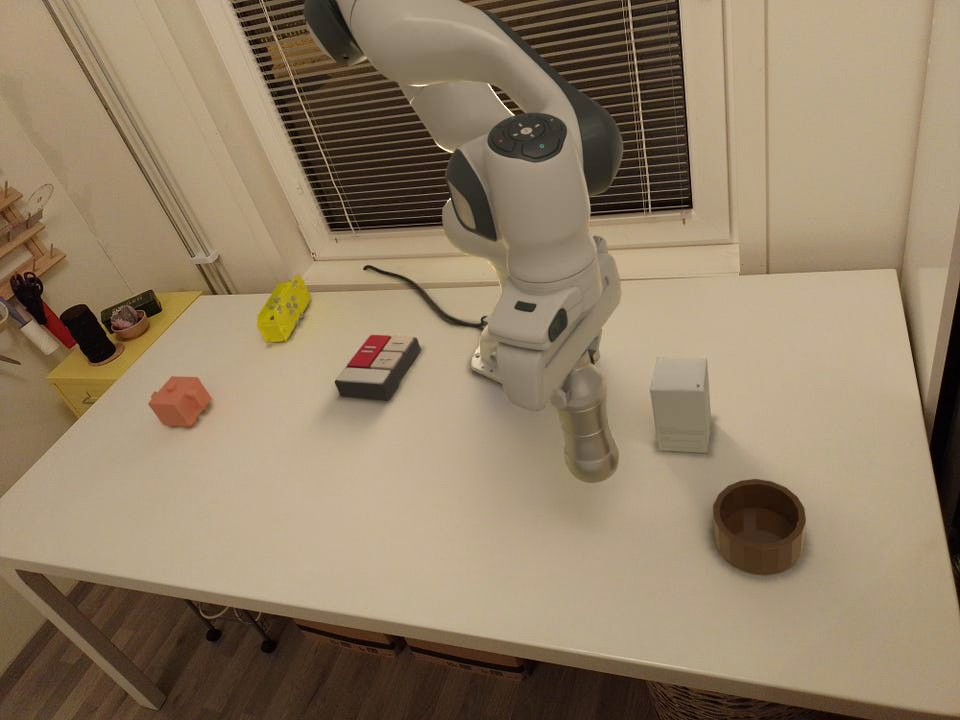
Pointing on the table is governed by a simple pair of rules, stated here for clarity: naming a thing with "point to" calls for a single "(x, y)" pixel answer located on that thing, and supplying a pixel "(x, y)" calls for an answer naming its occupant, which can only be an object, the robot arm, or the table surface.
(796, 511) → the cup
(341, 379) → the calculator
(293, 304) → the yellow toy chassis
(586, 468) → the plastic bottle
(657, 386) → the white packaging box
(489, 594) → the table surface
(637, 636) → the table surface
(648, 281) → the table surface
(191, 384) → the pink studded cube
